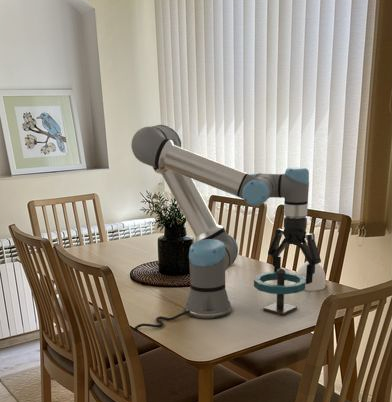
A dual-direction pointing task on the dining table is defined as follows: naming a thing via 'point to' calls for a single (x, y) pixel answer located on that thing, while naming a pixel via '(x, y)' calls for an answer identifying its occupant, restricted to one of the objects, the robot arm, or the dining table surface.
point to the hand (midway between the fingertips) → (292, 279)
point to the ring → (279, 289)
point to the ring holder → (280, 298)
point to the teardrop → (317, 278)
